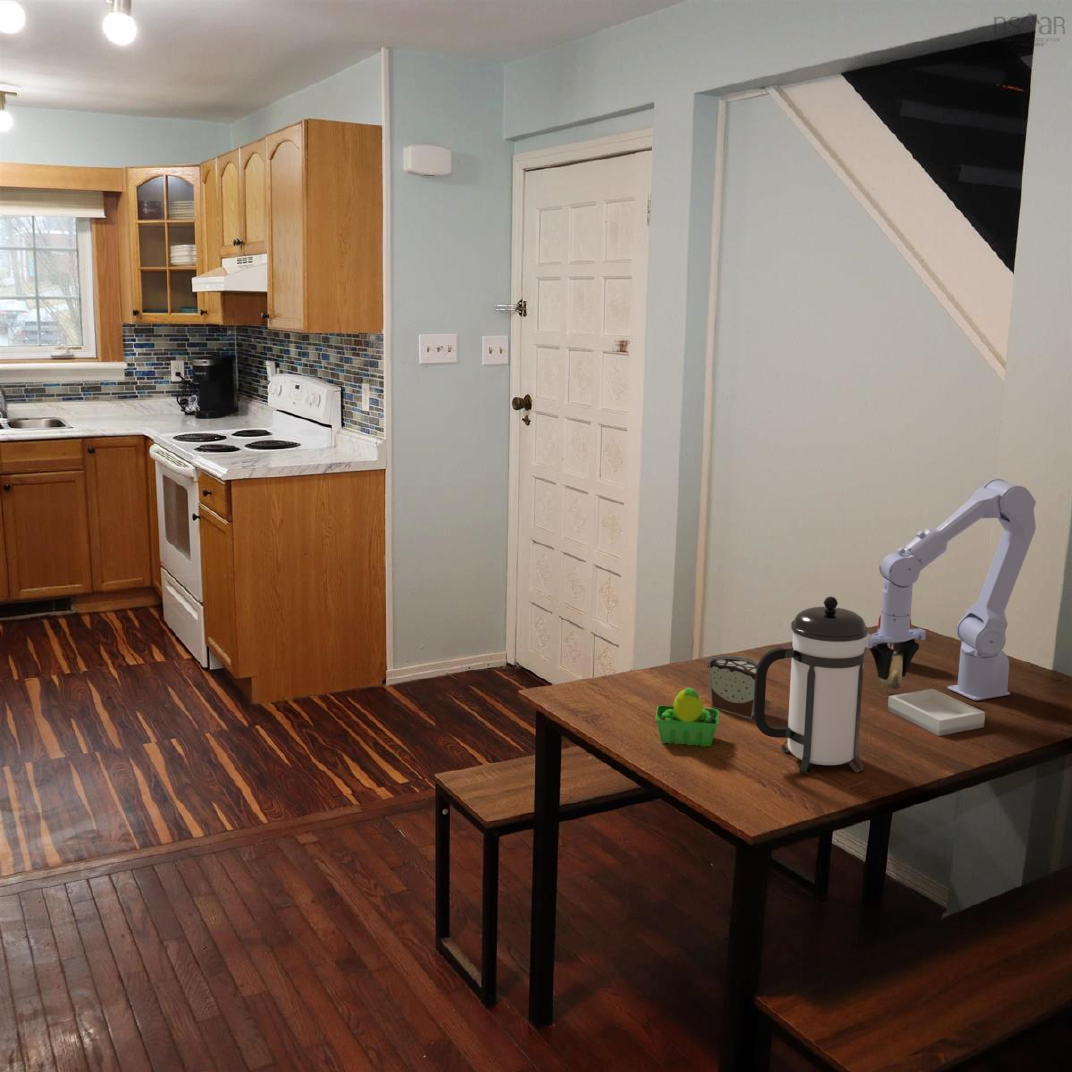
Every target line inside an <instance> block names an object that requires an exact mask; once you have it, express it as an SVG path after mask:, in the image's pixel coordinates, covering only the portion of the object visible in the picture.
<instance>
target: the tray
mask: <svg viewBox="0 0 1072 1072" xmlns="http://www.w3.org/2000/svg"><path fill="white" fill-rule="evenodd" d="M887 711H888V712H890V713H892V714H894V715H896V716H898V717H900V718H902V719H903V720H906V721H908V722H910V723H912V724H914V725H916V726H918V727H920V728H921V729H923V730H926V731H927V732H929V733H932V734H934V735H935V736H938V737H940V736H945V735H951V734H955V733H960V732H961V733H962V732H964V731H965V732H966V731H972V730H976V729H981V728H984V727H985V720H986V719H985V718H986V711H983V710H981V709H978V708H977V707H974V706H973V705H970V704H968V703H965V702H963V701H960V700H959V699H957V698H955V697H952V696H950V695H948V694H945V693H944V692H941V691H939V690H937V689H934V688H930V689H929V688H928V689H924V690H923V689H922V690H917V691H911V692H906V693H899V694H892V695H889V696H888V703H887Z"/></svg>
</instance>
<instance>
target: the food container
mask: <svg viewBox="0 0 1072 1072" xmlns="http://www.w3.org/2000/svg"><path fill="white" fill-rule="evenodd" d="M758 663H759V661H757V660H756V659H753V658H749V657H745V656H741V655H740V656H738V655H719V656H713V657H710V658H709V659H708V661H707V664H706V668H707V669H708V668H709V689H710V704H711V708H712V707H713V708H712V709H715V708H717V710H718V709H719V711H722V712H726V713H729V712H730V714H732V713H734V714H733V715H735V714H737V715H736V716H739V717H743V718H746V719H748V720H754V687H755V674H756V669H757V665H758Z"/></svg>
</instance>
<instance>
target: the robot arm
mask: <svg viewBox="0 0 1072 1072" xmlns="http://www.w3.org/2000/svg"><path fill="white" fill-rule="evenodd" d="M1036 504H1037V501H1036V500H1035V497H1034V496H1033V495H1032V493H1031V492H1030V490H1029V489H1028V488H1027V487H1025V486H1022V485H1017V484H1014V483H1011V482H1007V481H1006V480H1004V479H1001V478H992V479H991V480H988V481H987V482H986V483H984V485H982V486H981V487H979V488H978V489H976V490H975V491H974V493H973V494H972V496H971V497H970V498H969V499H968V500H966V502H964V503H963V504H962V505H961V506H960V507H959V508H958V509H956V510H955V512H953V513H951V515H949V517H948V518H947V519H945V520H944V521H943V522H942V523H941V524H940V525H939V526H938V527H936V528H925V530H919V531H917V532H916V533H915V537H914V538H913V539H912V540H910V541H909V542H908V543H907V544H905V545H904V546H903V547H902V546H900V547H899V548H897V552H894V553H890V554H887V555H886V556H885V557H884V558H883V560H882V562H881V563H880V565H879V566H878V569H879V570H878V571H879V573H880V575H881V576H882V577H883V580H882V581H883V582H882V592H881V595H882V596H881V608H880V609H881V610H880V615H881V624H880V629H878V628H877V631H878V632H877V631H875V632H874V633H872V634H870V635H871V637H872V639H873V640H872V641H866V642H865V648H867V649H869V650H870V653H871V655H872V657H873V659H874V662H875V666H876V672H877V677H878V678H880V680H881V679H884V680H887V679H888V675H889V666H890V661H891V658H892V655H893V653H894V650H892V649H890V648H889V646H887V644H892V643H894V647H895V650H897V651H900V652H902V653H903V669H902V678H905V677H906V675H907V672H908V669H909V666H910V663H911V661H912V660H913V658H914V656H915V655H916V654H917V652H918V651H919V649H920V644H919V643H918V642H916V641H918V640H920V641H925V640H926V635H927V631H926V630H924V629H922V628H918V627H917V628H911V629H910V619H911V617H912V604H913V603H912V601H913V600H912V599H913V587H914V586H913V584H914V583H916V582H917V580H918V579H919V577H920V572H921V571H922V570H924V569H925V568H926V567H928V565H930V564H931V563H933V562H934V561H935V560H936V559H938V558H939V557H940V556H942V555H943V554H945V552H946V551H947V546H948V542H950V541H951V540H953V538H955V537H956V536H958V535H959V534H961V533H963V531H965V530H967V529H968V528H970V527H971V526H972V525H973V524H975V523H976V522H978V521H980V520H981V519H998V521H999V522H1000V525H1001V527H1002V528H1003V534H1001V538H1000V540H999V543H998V545H997V549H996V550H995V554H994V555H993V556H994V557H993V559H992V561H991V564H990V567H989V570H988V571H987V575H986V577H985V581H984V584H983V585H982V589H981V590H980V593H979V596H978V599H977V601H976V602H975V603H973V604H972V605H970V606H968V608H967V611H966V613H965V614H964V616H963V617H962V618H960V620H959V621H958V623H957V625H956V634H957V637H958V639H960V641H961V644H960V651H959V652H960V653H959V665H958V674H957V675H958V677H957V684H954V685H948V686H947V689H948V690H950V691H952V692H955V693H956V694H959V695H961V696H964V697H966V698H968V699H970V700H973V701H976V702H977V701H981V700H987V699H992V698H999V697H1004V696H1009V695H1011V692H1010V691H1008V685H1009V684H1008V683H1009V682H1008V681H1009V672H1010V660H1009V657H1008V655H1007V654H1006V653H1005V652H1004V651H1003V649H1004V647H1005V646H1006V640H1007V638H1006V632H1007V631H1006V630H1007V627H1008V621H1007V616H1006V613H1005V611H1006V608H1007V605H1008V604H1009V601H1010V597H1011V595H1012V592H1013V591H1014V588H1015V584H1016V582H1017V579H1018V577H1019V574H1020V572H1021V569H1022V567H1023V565H1024V564H1023V563H1024V561H1025V558H1026V556H1027V553H1028V550H1029V548H1030V545H1031V542H1032V540H1033V537H1034V535H1035V533H1036V518H1035V506H1036ZM911 620H912V619H911Z"/></svg>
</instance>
